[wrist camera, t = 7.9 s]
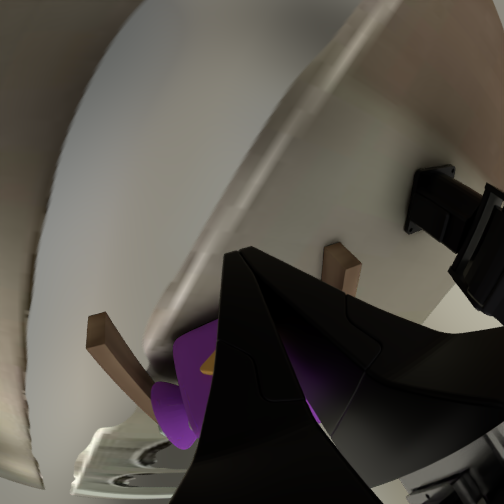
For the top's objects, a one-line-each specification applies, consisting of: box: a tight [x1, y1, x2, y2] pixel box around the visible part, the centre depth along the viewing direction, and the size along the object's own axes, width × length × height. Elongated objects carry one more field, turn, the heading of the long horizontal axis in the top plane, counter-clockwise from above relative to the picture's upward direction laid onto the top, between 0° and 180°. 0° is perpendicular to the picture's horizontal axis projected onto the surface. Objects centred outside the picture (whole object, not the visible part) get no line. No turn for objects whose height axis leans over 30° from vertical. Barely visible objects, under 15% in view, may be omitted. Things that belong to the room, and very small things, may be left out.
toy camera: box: [151, 319, 321, 449], centre depth 21 cm, size 11×14×10 cm
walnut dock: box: [86, 242, 362, 436], centre depth 23 cm, size 20×16×4 cm
